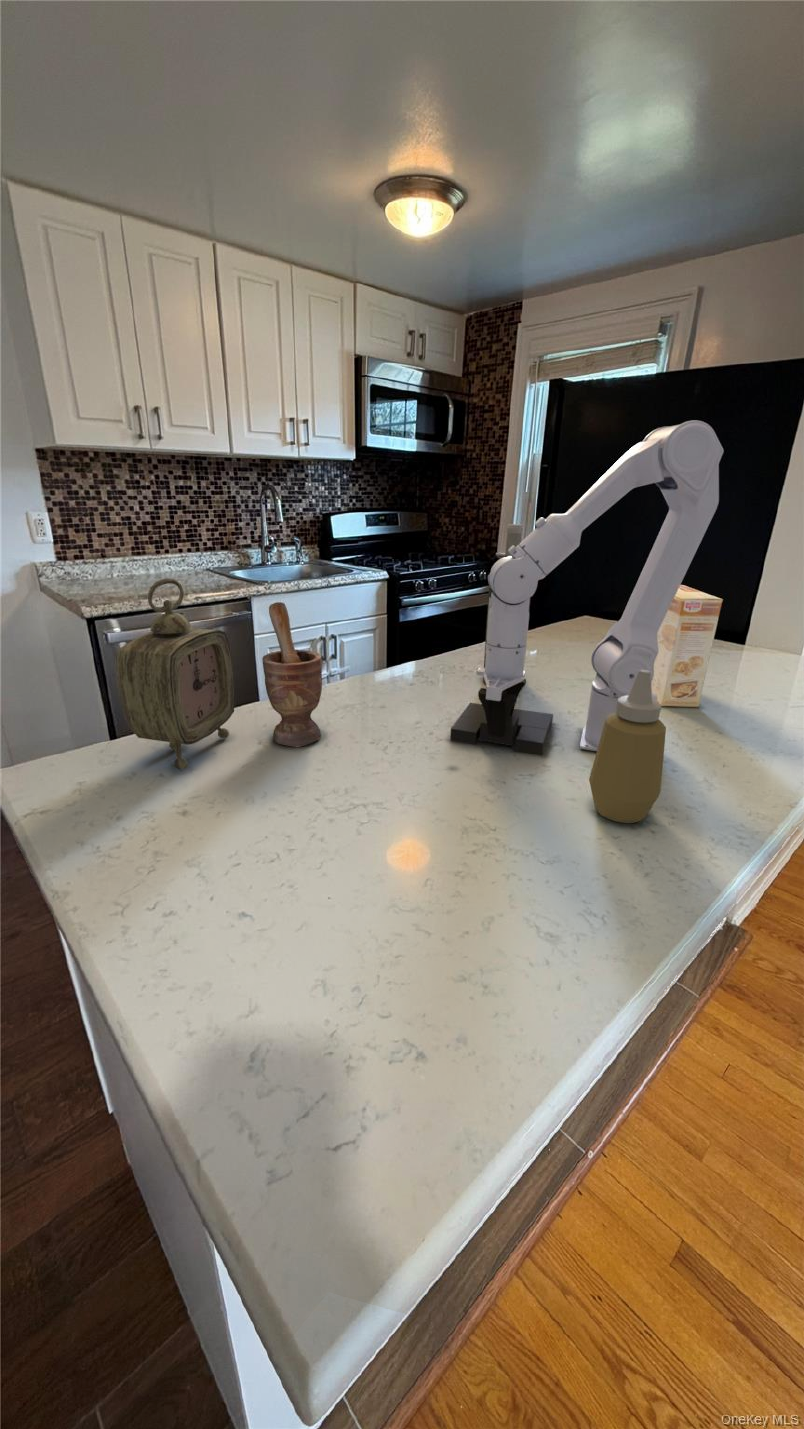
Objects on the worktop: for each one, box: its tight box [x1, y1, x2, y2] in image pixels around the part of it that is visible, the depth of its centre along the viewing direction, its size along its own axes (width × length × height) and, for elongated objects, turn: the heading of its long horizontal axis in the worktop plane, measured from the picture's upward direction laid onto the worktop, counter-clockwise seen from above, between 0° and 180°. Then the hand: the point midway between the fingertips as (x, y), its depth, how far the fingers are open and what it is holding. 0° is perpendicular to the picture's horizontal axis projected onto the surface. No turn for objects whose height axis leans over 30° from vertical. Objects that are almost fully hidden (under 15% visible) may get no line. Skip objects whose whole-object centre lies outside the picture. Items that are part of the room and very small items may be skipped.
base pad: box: [449, 702, 554, 756], centre depth 90 cm, size 14×12×2 cm
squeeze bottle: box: [588, 670, 667, 824], centre depth 66 cm, size 8×8×18 cm
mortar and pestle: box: [261, 601, 323, 749], centre depth 86 cm, size 12×9×20 cm
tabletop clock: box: [114, 578, 236, 771], centre depth 79 cm, size 14×9×25 cm, turn 164°
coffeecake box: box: [651, 584, 724, 708], centre depth 105 cm, size 15×7×20 cm, turn 179°
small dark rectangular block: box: [478, 715, 519, 746], centre depth 87 cm, size 5×4×3 cm
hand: (499, 729), depth 87 cm, fingers closed on small dark rectangular block, 4 cm apart
